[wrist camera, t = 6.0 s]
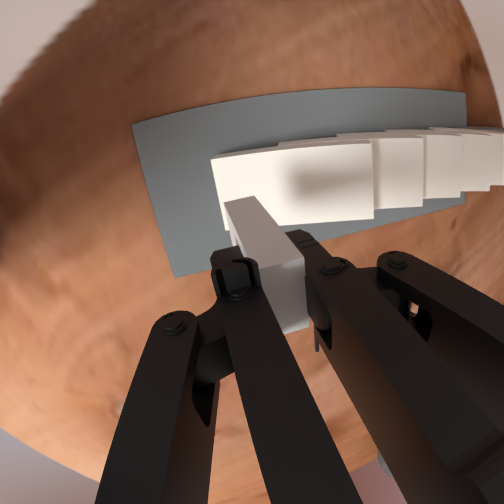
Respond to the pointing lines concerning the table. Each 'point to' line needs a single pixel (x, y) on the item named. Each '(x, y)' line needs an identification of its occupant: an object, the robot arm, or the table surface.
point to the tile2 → (391, 168)
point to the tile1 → (301, 181)
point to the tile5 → (500, 167)
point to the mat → (269, 135)
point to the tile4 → (471, 158)
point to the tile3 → (436, 162)
